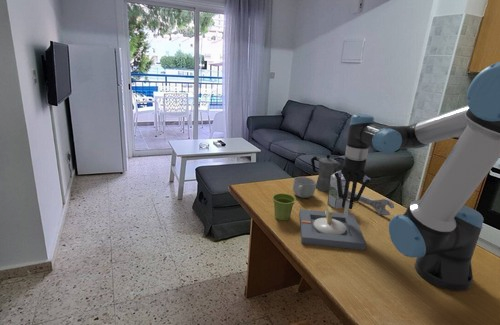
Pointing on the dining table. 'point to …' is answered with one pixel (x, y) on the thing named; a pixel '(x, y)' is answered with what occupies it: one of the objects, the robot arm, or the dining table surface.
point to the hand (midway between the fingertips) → (345, 215)
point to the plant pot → (283, 205)
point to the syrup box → (335, 193)
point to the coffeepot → (324, 171)
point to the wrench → (375, 203)
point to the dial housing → (347, 240)
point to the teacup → (304, 187)
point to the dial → (329, 224)
